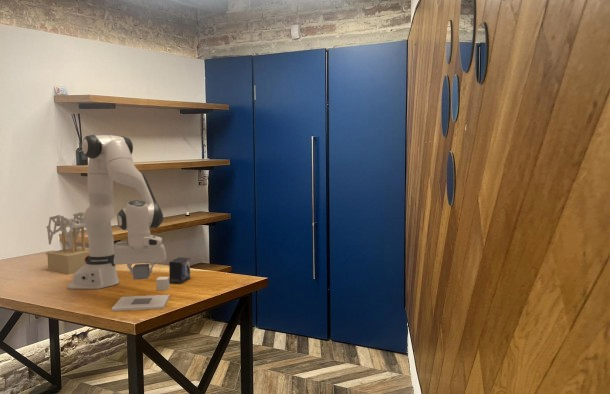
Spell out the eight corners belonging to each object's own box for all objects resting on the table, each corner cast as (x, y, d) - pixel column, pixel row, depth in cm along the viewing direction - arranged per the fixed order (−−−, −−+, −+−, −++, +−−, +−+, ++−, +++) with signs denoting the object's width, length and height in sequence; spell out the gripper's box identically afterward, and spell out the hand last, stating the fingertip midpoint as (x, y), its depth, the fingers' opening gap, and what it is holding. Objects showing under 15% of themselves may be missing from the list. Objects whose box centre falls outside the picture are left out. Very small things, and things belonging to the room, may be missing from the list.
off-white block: (156, 290, 223) (156, 279, 222) (158, 287, 228) (158, 277, 227) (167, 290, 223) (167, 279, 223) (169, 287, 228) (169, 276, 228)
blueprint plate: (111, 311, 194) (111, 308, 194) (121, 299, 210) (121, 296, 210) (163, 308, 196) (163, 305, 196) (169, 296, 212) (169, 294, 212)
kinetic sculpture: (104, 267, 269) (101, 213, 266) (70, 275, 252) (67, 217, 249) (77, 262, 282) (74, 210, 279) (43, 270, 265) (39, 214, 262)
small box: (181, 283, 233) (180, 262, 232) (169, 283, 235) (168, 261, 234) (191, 278, 244) (190, 257, 243) (179, 277, 245) (178, 257, 244)
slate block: (133, 279, 199) (132, 267, 199) (136, 276, 205) (135, 264, 204) (147, 278, 200) (146, 266, 199) (149, 275, 205) (149, 263, 205)
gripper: (111, 243, 196) (113, 277, 198) (163, 240, 199) (165, 274, 200) (115, 240, 203) (117, 273, 204) (165, 237, 205) (167, 270, 206)
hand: (141, 273), depth 202 cm, fingers closed on slate block, 5 cm apart
